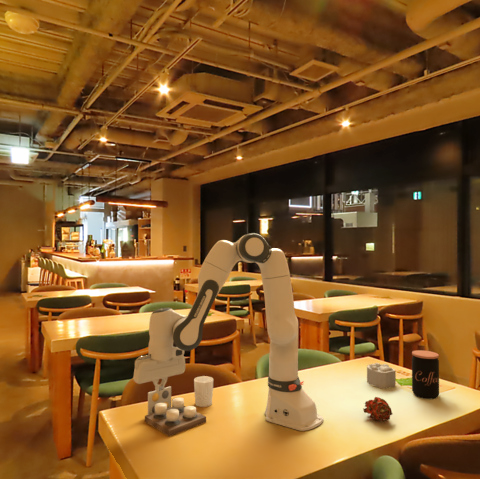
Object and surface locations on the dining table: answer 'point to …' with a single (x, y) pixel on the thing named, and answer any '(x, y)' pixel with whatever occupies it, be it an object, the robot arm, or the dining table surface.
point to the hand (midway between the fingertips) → (159, 390)
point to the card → (159, 398)
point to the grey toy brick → (381, 375)
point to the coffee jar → (425, 374)
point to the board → (174, 422)
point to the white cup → (203, 391)
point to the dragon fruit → (378, 409)
